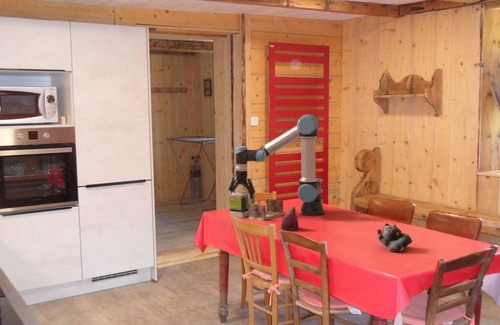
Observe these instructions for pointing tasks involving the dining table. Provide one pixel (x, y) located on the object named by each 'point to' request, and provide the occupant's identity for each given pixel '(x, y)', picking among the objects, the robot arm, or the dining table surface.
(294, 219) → the vegetable
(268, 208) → the holder stand
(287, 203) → the dining table surface
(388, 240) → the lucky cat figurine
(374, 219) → the dining table surface
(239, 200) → the tea box
